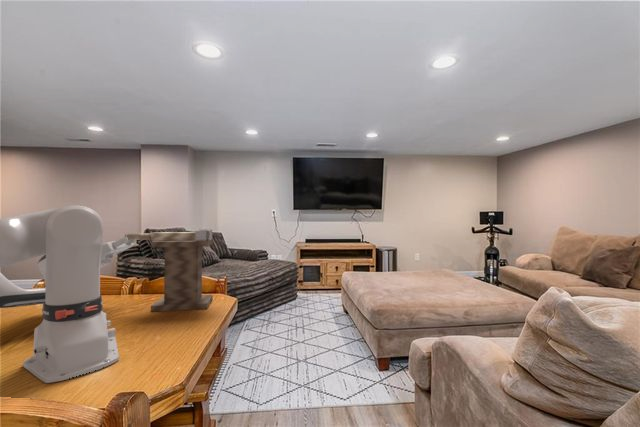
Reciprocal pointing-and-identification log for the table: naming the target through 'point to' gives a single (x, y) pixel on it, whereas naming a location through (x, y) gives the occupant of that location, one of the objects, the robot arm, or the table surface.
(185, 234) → the ash rail
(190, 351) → the table surface
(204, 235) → the cup bracket
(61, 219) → the robot arm
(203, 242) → the walnut stand
